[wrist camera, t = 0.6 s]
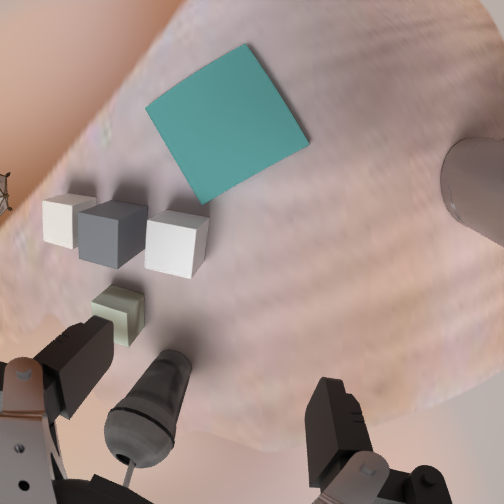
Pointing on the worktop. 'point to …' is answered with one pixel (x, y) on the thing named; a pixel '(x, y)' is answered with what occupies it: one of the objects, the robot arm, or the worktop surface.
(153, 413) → the beverage cup
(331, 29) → the worktop surface
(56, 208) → the offwhite block
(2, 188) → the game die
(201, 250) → the grey block
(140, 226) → the charcoal block
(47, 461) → the robot arm
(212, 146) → the teal mat
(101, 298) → the sage block
